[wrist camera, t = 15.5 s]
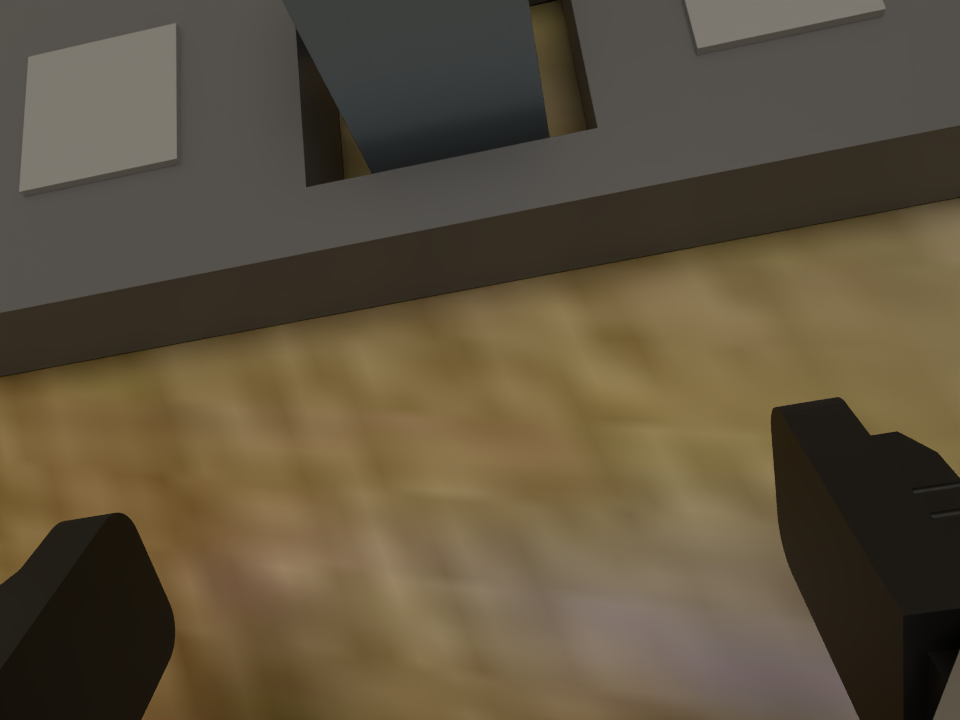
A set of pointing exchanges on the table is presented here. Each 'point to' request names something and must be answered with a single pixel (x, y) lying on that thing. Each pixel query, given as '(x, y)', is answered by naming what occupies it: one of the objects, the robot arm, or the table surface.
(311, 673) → the table surface
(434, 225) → the power strip
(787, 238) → the table surface
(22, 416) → the table surface
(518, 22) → the plug
